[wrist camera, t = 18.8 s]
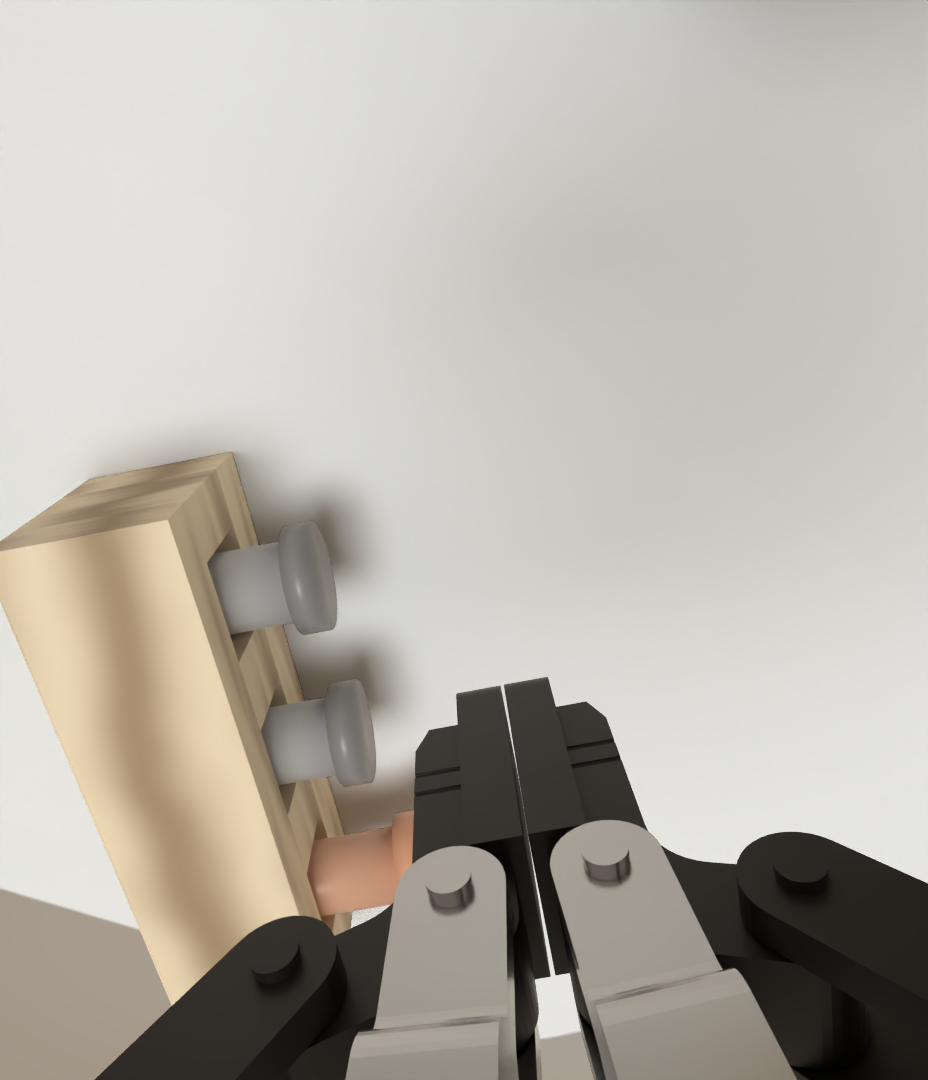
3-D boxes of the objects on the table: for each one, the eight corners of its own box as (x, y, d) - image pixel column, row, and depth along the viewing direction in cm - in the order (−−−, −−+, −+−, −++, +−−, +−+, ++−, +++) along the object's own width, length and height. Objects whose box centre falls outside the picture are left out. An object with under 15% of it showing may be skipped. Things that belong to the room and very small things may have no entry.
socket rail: (231, 451, 39) (167, 519, 29) (356, 876, 48) (337, 1032, 38) (89, 479, 39) (-20, 555, 30) (240, 897, 48) (193, 1056, 39)
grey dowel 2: (356, 660, 40) (347, 714, 35) (378, 742, 41) (371, 804, 37) (139, 700, 40) (101, 759, 35) (169, 780, 42) (137, 846, 37)
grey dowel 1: (316, 506, 37) (300, 543, 32) (341, 601, 39) (329, 649, 34) (82, 551, 37) (34, 593, 33) (117, 643, 39) (76, 696, 34)
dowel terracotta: (417, 789, 42) (415, 855, 38) (434, 862, 44) (435, 933, 40) (212, 826, 43) (186, 895, 38) (238, 896, 44) (216, 970, 40)
